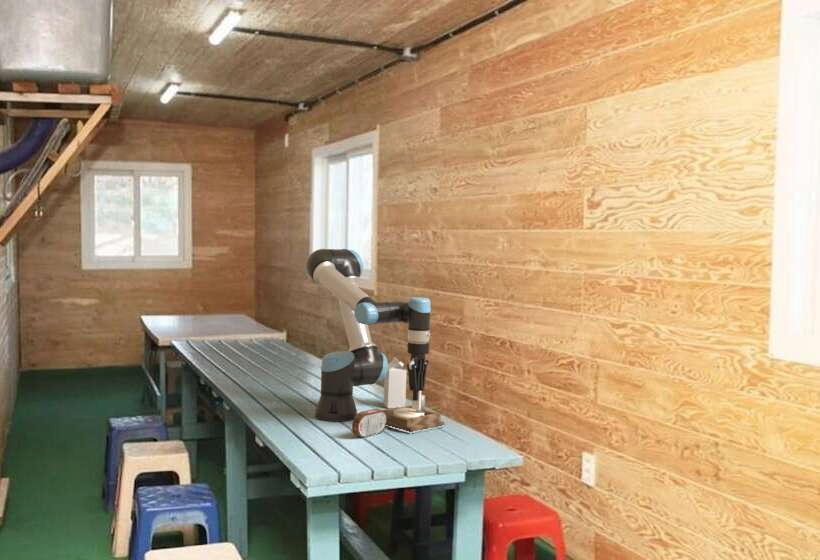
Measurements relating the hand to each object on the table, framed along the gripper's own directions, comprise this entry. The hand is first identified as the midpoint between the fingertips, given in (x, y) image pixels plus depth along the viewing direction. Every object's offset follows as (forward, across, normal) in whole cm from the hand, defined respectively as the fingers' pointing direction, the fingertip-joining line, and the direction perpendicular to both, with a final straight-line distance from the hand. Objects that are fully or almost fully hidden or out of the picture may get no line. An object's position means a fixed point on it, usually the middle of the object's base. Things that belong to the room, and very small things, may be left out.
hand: (416, 409), depth 266 cm
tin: (+7, -17, +9) cm, 21 cm away
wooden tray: (+7, +2, +4) cm, 8 cm away
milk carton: (+7, +26, +21) cm, 34 cm away
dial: (+4, +2, +4) cm, 6 cm away
